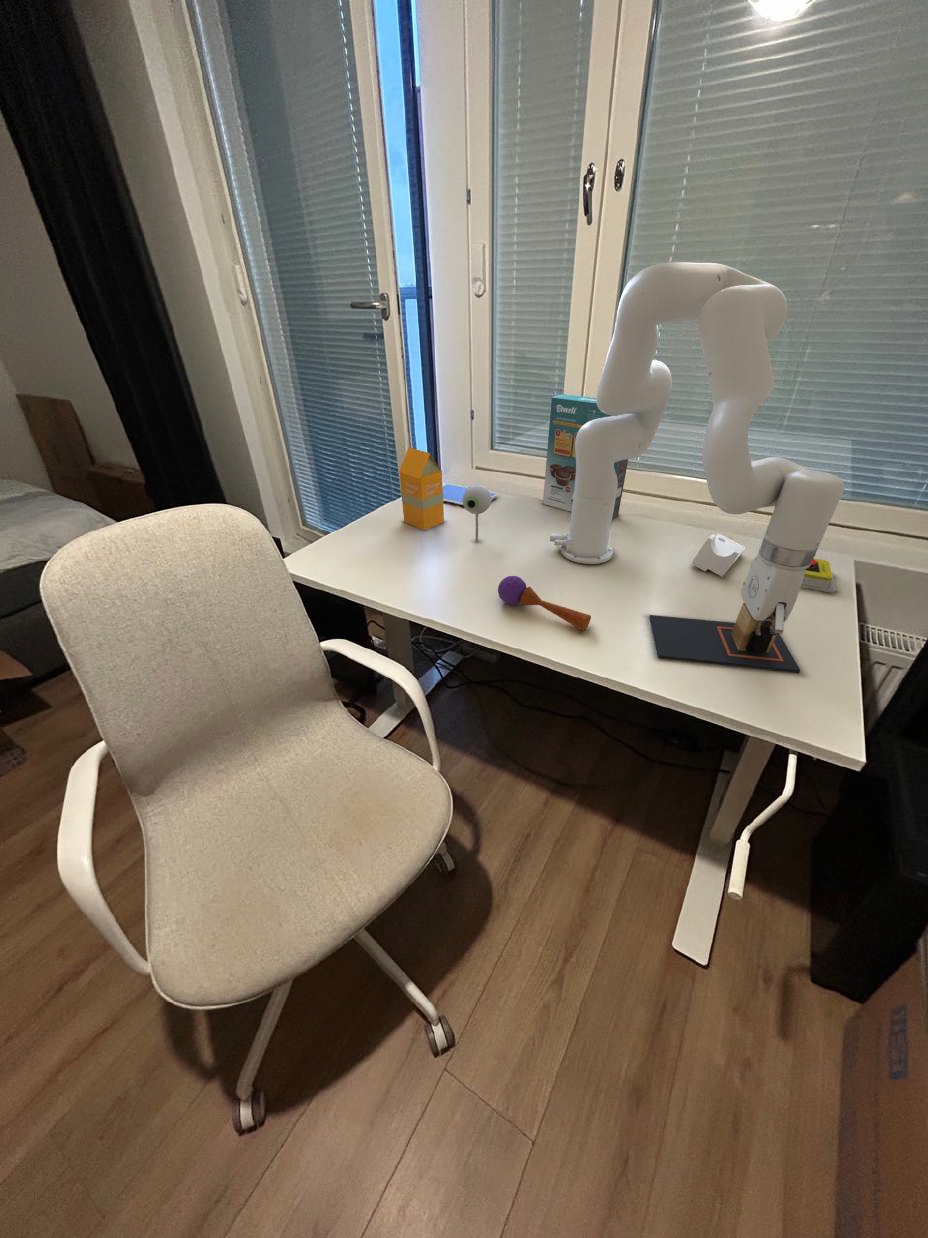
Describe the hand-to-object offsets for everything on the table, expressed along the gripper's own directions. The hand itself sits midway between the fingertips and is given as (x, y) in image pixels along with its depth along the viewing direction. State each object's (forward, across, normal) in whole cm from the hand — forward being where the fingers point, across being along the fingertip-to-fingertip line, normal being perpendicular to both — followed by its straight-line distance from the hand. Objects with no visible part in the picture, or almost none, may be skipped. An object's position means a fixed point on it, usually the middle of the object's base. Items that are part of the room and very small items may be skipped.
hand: (750, 639), depth 87 cm
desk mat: (+1, 0, -5) cm, 5 cm away
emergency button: (+2, -29, +17) cm, 34 cm away
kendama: (+2, -4, -38) cm, 38 cm away
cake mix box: (+1, -61, -30) cm, 68 cm away
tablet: (+1, -65, -67) cm, 93 cm away
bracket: (+2, -33, +2) cm, 33 cm away
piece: (+1, 0, 0) cm, 1 cm away
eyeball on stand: (+1, -35, -57) cm, 67 cm away
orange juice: (+1, -45, -74) cm, 86 cm away
